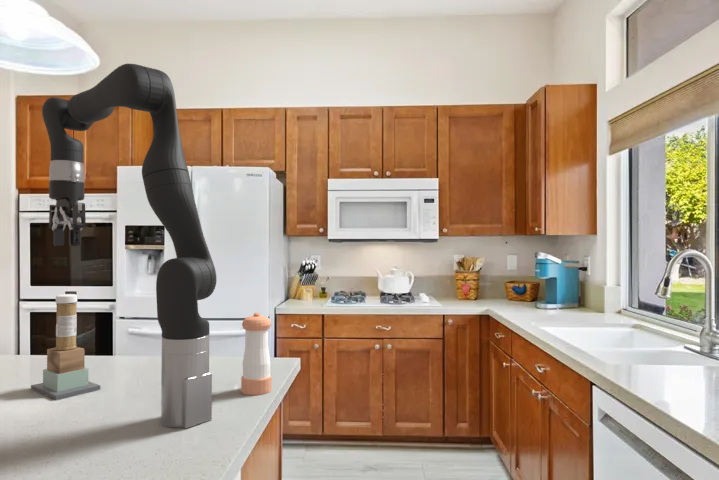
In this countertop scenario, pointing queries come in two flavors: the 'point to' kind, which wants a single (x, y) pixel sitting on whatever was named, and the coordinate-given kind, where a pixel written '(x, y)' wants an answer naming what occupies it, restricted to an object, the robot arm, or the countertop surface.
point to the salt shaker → (256, 356)
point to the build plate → (66, 392)
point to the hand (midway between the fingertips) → (66, 245)
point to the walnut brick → (65, 360)
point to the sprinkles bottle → (66, 322)
